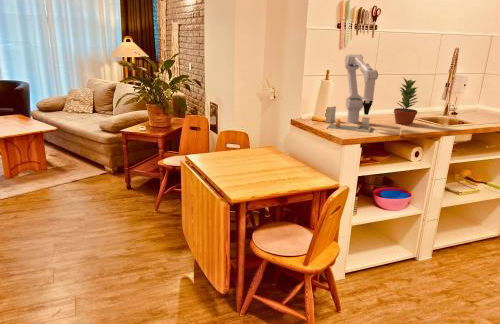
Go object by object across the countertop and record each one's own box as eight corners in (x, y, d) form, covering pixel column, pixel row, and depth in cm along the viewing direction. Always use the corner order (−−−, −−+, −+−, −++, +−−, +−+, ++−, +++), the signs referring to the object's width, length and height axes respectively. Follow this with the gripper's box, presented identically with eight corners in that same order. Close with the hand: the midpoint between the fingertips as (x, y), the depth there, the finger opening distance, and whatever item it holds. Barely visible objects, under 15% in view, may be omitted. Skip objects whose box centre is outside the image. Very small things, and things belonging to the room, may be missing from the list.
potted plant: (418, 126, 248) (426, 78, 239) (393, 125, 251) (400, 77, 241) (414, 121, 262) (421, 76, 252) (390, 120, 265) (396, 75, 255)
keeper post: (336, 126, 239) (336, 119, 237) (340, 126, 238) (340, 119, 237) (335, 127, 237) (336, 119, 235) (339, 127, 236) (339, 120, 234)
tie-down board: (330, 125, 245) (330, 123, 245) (375, 130, 235) (375, 128, 235) (326, 129, 234) (326, 127, 234) (372, 134, 224) (372, 132, 224)
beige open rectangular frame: (358, 126, 239) (359, 116, 237) (371, 128, 236) (373, 118, 234) (355, 130, 228) (356, 120, 226) (369, 132, 225) (370, 121, 223)
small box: (334, 121, 256) (336, 106, 253) (330, 123, 252) (331, 107, 249) (324, 120, 261) (325, 104, 258) (320, 121, 257) (321, 105, 254)
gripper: (362, 89, 237) (360, 110, 242) (361, 91, 224) (358, 115, 228) (374, 89, 235) (372, 111, 239) (374, 92, 222) (371, 115, 226)
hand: (366, 113), depth 234 cm, fingers open, 7 cm apart
